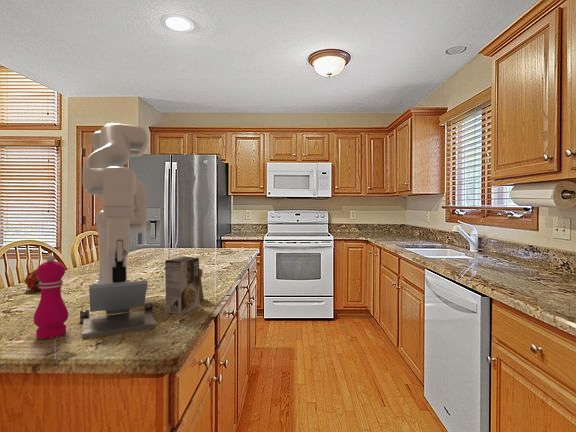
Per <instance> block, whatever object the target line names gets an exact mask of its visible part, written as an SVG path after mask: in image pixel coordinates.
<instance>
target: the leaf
mask: <svg viewBox="0 0 576 432" xmlns="http://www.w3.org/2000/svg"><path fill="white" fill-rule="evenodd" d="M148 283H149V282H148V279H147V280H136V281H127V282H123V283H112V284H100V285H92V284H89V286H88V291H89V295H88V296H89V313H93V312H102V311H105V313H106V314H105V316H106V315H114V314H122V313H130V308H134V307H135V308H136V307H144V303H146V297H147V290H148Z"/></svg>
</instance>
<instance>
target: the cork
mask: <svg viewBox="0 0 576 432" xmlns="http://www.w3.org/2000/svg"><path fill="white" fill-rule="evenodd" d="M202 276H203V269H202V268H201V267H199V302H202V301H203V300H205V298H204V291H203V283H202Z"/></svg>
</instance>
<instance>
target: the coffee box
mask: <svg viewBox="0 0 576 432" xmlns="http://www.w3.org/2000/svg"><path fill="white" fill-rule="evenodd" d="M164 262H165V263H164V265H165V266H164V267H165V271H164V272H165V277H164V278H165V313H168V314H175V315H183V314H185V313H188V312H190V311H193V310H195V309H197V308H199V307H200V301H199V268H200V257H195V256H194V257H193V256H180V257H176V258H169V259H166V260H165V261H164Z"/></svg>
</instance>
